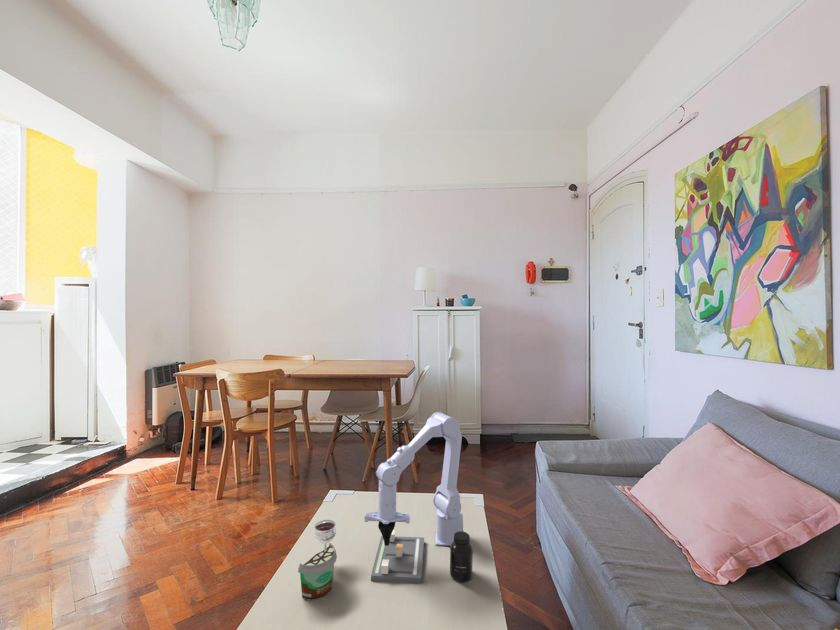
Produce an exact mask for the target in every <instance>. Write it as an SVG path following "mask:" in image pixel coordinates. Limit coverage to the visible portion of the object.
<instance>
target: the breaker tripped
mask: <svg viewBox="0 0 840 630" xmlns="http://www.w3.org/2000/svg"><path fill="white" fill-rule="evenodd" d="M402 555H403V544H397V547H396V557H402Z"/></svg>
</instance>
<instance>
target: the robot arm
mask: <svg viewBox="0 0 840 630" xmlns="http://www.w3.org/2000/svg"><path fill="white" fill-rule="evenodd" d="M460 427H461V423H460V422H459V421H458V420H457V419H456V418H455V417H452V416H449V415H447V414H445V413H443V412H441V411H435V412H434V413H432V415H430V417H428V419H427V420H426V423H425V424H424V426H423V427H422V428H421V429H420V431H419V432H418V433H417V434H416V435H415V436H414V438H413V439H412V440H411V441H410V442H409V443H408V444H407V445H401V446H399V447H398V448H397V449H396V452H395V453H393V455H391V457H390V458H388V459H386V461H384V462H381V463H380V464H379V465H378V466H377V470H376V471H375V475H376V477H377V478H378V511H374V512H365V513H364V523H368V522H378V525H377V526H378V529H379V531H380V533H381V536H383V539H384V545H385V546H389V543H390V537H391V534H392V531H393V530H395V527H396V523H406V524H410V521H411V514H408V513H402V512H398V511H397V483H398V482H399V480H400V478H401V475H402V473H403V472H404V470H405V469H406V468H407V467H408V466H409V465H410V464H411V463H412V462H413V460H414V459H415V454H416V453H417V452H418V451H419V450H420V449H421V448H422V447H423V446H424V445H425V444H427V443H428V442H429V441H430V440H431V439H432V438H442V437H443V438H444V439H445V446H444V457H443V464H442V465H443V466H442V473H441V480H440V484H439V485H438V486H437V487H436V490H435V492H434V493H435V494H433V498H432V502H433V506H434V507H435V508H436V510H435V511H436V531H435V539H434V540H435V545H436V546H450V547H451V544H452V542H454V534H455V533H456V532H459V531H462V532H465V531H464V516H463V513H461V512H462V503H461V495H460V492H459V490H458V488H457V485H458V484H457V483H458V478H459V477H458V475H459V468H460V467H459V465H460V458H461V450H462V441H463V436H462V432H461V429H460Z"/></svg>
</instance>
